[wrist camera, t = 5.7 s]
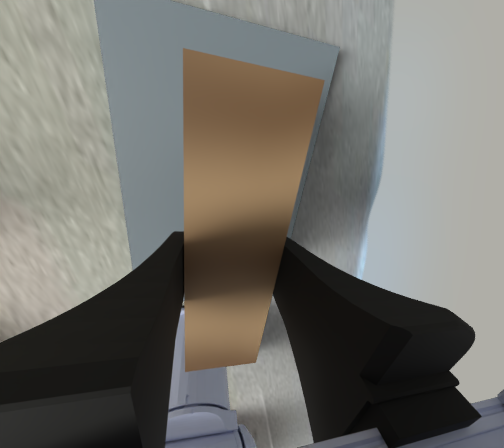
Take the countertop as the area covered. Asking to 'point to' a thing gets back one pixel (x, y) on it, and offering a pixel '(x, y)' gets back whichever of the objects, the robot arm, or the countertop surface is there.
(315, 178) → the countertop surface
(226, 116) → the wooden block
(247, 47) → the peg rack
